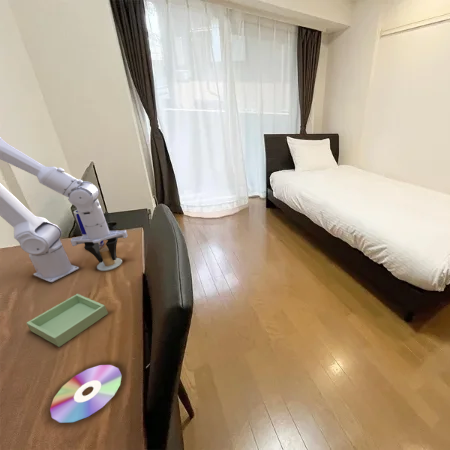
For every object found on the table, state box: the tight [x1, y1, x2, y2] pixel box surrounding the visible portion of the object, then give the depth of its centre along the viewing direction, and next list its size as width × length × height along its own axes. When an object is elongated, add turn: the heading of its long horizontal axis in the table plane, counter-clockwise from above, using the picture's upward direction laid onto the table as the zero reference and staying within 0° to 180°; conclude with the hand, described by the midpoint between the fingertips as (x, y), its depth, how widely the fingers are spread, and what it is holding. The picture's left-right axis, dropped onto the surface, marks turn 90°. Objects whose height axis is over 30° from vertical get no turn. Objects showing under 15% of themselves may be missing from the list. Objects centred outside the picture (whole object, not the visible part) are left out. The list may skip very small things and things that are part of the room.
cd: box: [49, 364, 123, 424], centre depth 52 cm, size 11×11×1 cm
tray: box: [26, 293, 109, 348], centre depth 67 cm, size 11×11×3 cm
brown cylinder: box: [99, 246, 115, 266], centre depth 88 cm, size 3×3×6 cm
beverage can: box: [73, 209, 105, 249], centre depth 97 cm, size 5×5×15 cm
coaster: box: [96, 257, 123, 272], centre depth 90 cm, size 7×7×1 cm
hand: (108, 259), depth 89 cm, fingers closed on brown cylinder, 3 cm apart
